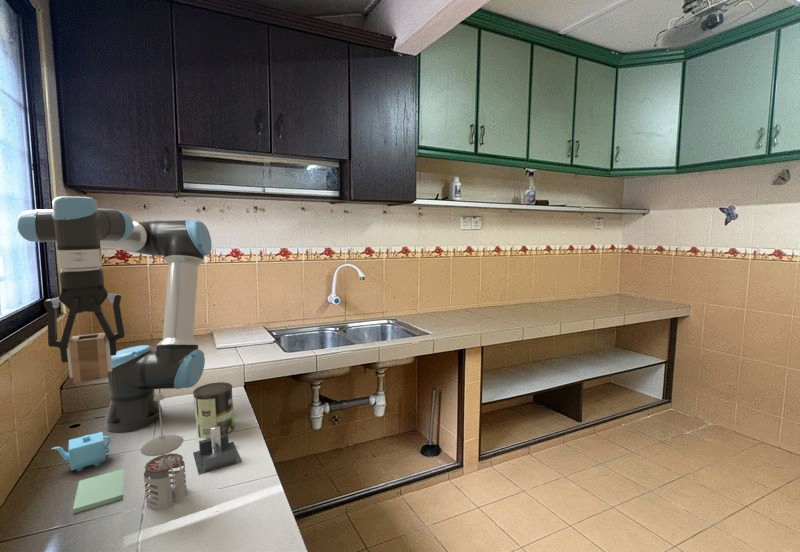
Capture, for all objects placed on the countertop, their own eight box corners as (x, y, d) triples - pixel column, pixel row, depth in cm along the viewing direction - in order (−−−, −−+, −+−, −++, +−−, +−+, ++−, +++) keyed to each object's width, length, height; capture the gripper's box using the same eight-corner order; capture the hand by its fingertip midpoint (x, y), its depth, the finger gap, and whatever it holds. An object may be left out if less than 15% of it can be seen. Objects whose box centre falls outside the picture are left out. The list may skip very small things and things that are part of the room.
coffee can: (233, 423, 128) (230, 379, 127) (236, 438, 119) (233, 391, 117) (196, 431, 124) (193, 385, 122) (196, 447, 115) (192, 398, 113)
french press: (181, 484, 98) (172, 382, 95) (204, 504, 91) (196, 394, 88) (134, 506, 90) (123, 395, 88) (155, 530, 83) (144, 410, 80)
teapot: (53, 479, 101) (50, 450, 100) (54, 468, 106) (51, 440, 105) (113, 462, 108) (110, 434, 107) (111, 452, 113) (109, 425, 112)
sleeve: (76, 375, 94) (72, 336, 93) (109, 370, 97) (105, 332, 96) (73, 383, 89) (69, 342, 88) (107, 377, 92) (103, 337, 91)
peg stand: (193, 457, 109) (190, 423, 108) (233, 446, 115) (231, 413, 114) (199, 480, 99) (196, 443, 98) (242, 467, 105) (240, 431, 103)
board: (79, 484, 98) (79, 480, 98) (130, 471, 104) (129, 467, 104) (73, 513, 88) (72, 509, 88) (129, 497, 94) (128, 492, 93)
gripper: (18, 273, 82) (32, 387, 85) (133, 267, 92) (142, 369, 95) (27, 270, 88) (39, 376, 91) (133, 265, 98) (141, 360, 101)
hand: (91, 372), depth 93 cm, fingers closed on sleeve, 6 cm apart
